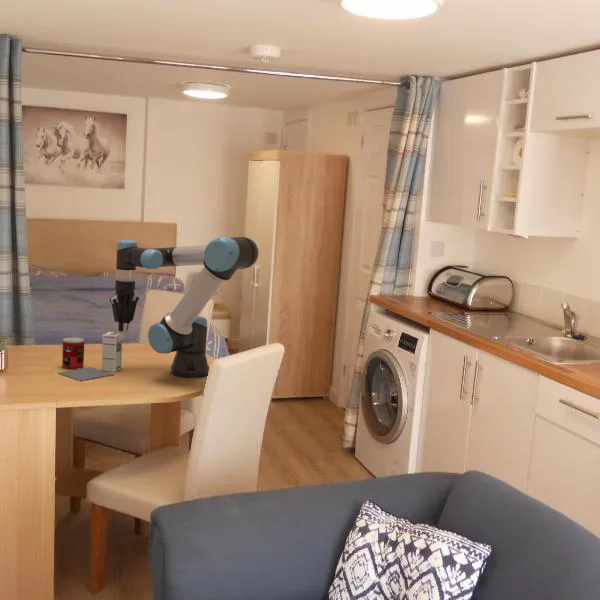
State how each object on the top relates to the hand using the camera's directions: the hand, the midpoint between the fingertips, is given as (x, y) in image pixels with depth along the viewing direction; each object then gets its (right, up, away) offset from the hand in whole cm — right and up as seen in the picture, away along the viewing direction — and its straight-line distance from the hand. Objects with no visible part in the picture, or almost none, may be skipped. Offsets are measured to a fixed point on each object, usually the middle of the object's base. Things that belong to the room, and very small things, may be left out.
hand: (122, 339), depth 290 cm
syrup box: (-4, -12, -3) cm, 13 cm away
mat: (-11, -13, -12) cm, 21 cm away
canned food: (-19, -11, -3) cm, 22 cm away
